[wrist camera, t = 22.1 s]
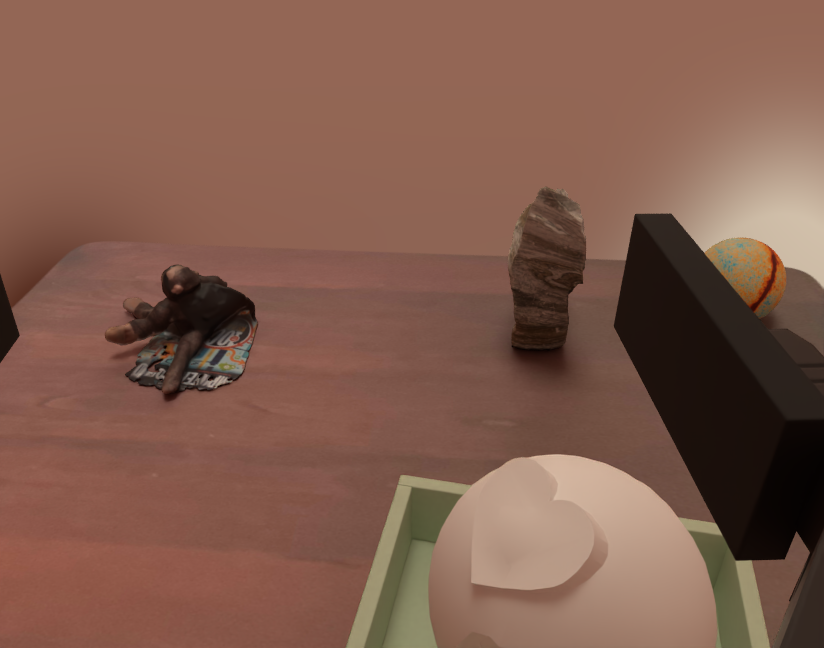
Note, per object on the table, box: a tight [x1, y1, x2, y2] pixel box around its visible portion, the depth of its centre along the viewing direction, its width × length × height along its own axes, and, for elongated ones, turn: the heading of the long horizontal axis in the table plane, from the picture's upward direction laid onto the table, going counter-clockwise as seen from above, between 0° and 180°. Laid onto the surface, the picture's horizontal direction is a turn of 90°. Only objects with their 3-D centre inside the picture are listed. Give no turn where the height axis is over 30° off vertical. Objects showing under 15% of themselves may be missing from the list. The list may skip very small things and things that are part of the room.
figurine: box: [428, 454, 718, 648], centre depth 30 cm, size 11×11×15 cm
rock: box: [508, 187, 586, 350], centre depth 56 cm, size 13×6×15 cm, turn 159°
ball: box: [705, 238, 786, 319], centre depth 62 cm, size 7×7×7 cm
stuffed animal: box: [105, 265, 258, 394], centre depth 60 cm, size 12×10×12 cm
